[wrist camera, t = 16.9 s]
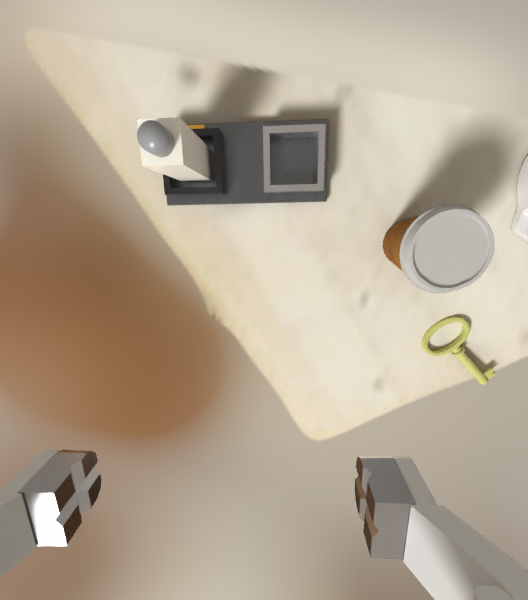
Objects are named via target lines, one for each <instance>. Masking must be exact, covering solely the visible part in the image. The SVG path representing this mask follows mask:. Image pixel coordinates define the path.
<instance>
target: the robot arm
mask: <svg viewBox="0 0 528 600" xmlns="http://www.w3.org/2000/svg"><path fill="white" fill-rule="evenodd" d="M517 198H518V207H517V211H516V214H515V217H514V220H513V224H512V230H513V232H514V233H515V234H516V235H518V236H519V237H521V238H522V239H524V240H526V241H527V242H528V155H527V157H526V158H525V160H524V162H523V165H522V167H521V170H520V173H519V177H518V183H517ZM97 462H98V460H97V455H96V453H95V452H93V451H84V450H56V449H55V450H54V449H46V450H44V451H42V452H40V453H39V454H38V455H37V456H36V457H35V458H34V459H33V460H32V461H31V462H30V463H29V464H28V465H27V466H26V467H25V468H24V469H23V470H22V471H21V472H20V473H18V474H17V475H16V476H15V477H14V478H13V479H12V480H11V481H10V482H9V483H8V484H7V485H6V486H5V487H4V488H3V489H2V490H1V491H0V577H1V576H3V575H4V574H5V573H6V572H8V571H9V570H10V569H11V568H12V567H14V566H15V565H16V564H17V563H19V562H20V561H21V560H22V559H23V558H25V557H26V556H27V555H28V554H29V553H31V552H32V551H33V550H34V549H35V548H36V547H37V546H67V545H68V543H69V541H70V540H71V538H72V537H73V535H74V534H75V532H76V531H77V529H78V528H79V526H80V525H81V523H82V514H84V513H85V512H87V511H88V510H89V509H91V508H92V506H93V505H94V503H95V501H96V500H97V498H98V495H99V492H100V489H101V475H100V472H99V471H98V470H97V469H96V468H95V465H96V464H97ZM356 469H357V472H358V477H357V478H356V479H355V500H356V505H357V509H358V514H359V517H360V518H361V519H362V520H363V521H364V531H363V532H364V536H365V539H366V543H367V547H368V551H369V554H370V557H371V558H385V559H401V560H404V563H405V564H406V565H407V567H408V568H409V569H410V570H411V572H412V573H413V574H414V575H415V576H416V577H417V578H418V580H419V581H420V582H421V584H422V585H423V586H424V587H425V588H426V590H427V591H428V592H429V593H430V594H431V596H432V597H433V598H434V599H435V600H528V570H527V569H526V568H524V567H523V566H522V565H520V564H519V563H518V562H517V561H515V560H514V559H513V558H511V557H510V556H509V555H507V554H506V553H505V552H503V551H502V550H501V549H499V548H498V547H497V546H496V545H494V544H493V543H492V542H490V541H489V540H488V539H486V538H485V537H484V536H483V535H481V534H480V533H479V532H477V531H476V530H474V529H473V528H472V527H471V526H469V525H468V524H467V523H465V522H464V521H463V520H462V519H460V518H459V517H458V516H456V515H455V514H454V513H452V512H451V511H450V510H448V509H447V508H446V507H445V506H438V505H437V503H436V501H435V499H434V498H433V496H432V494H431V492H430V490H429V489H428V487H427V485H426V483H425V481H424V480H423V478H422V476H421V474H420V473H419V471H418V469H417V467H416V465H415V464H414V462H413V460H412V459H411V458H410V457H362V456H361V457H360V456H358V457H357V461H356Z"/></svg>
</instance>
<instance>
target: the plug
mask: <svg viewBox="0 0 528 600" xmlns="http://www.w3.org/2000/svg"><path fill="white" fill-rule="evenodd" d="M137 123H138V132H137V138H138V142H139V144H140V150H141V159H142V166H144V167H146V168H149V169H151V170H154V171H157V172H159V173H162V174H164V175H167V176H169V177H172V178H175V179H177V180H180V181H182V182H204V181H213V180H212V163H211V149H210V148H209V147H208V146H207V145H206V144H205V143H204V142H203V141H202V140H201V139H200V138H199V137H198V136H197V135H196V134H195V133H194V132H193V131H192V130H191V129H190V128H189V127H188V126H187V125H186V124H185V123H184V122H183V121H182V119H181V118H156V119H137Z"/></svg>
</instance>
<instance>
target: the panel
mask: <svg viewBox="0 0 528 600" xmlns="http://www.w3.org/2000/svg"><path fill="white" fill-rule="evenodd" d="M328 122H329V119H318V120H292V121H266V122H240V123H213V124H187V126H188V127H189V128H190V129H191V130H192V131H193V132H194V133H195V134H196V135H197V136H198V137H199V138H200V139H201V140H202V141H203V142H204V143H205V144H206V145H207V146H208V147H209V148H210V149H211V163H212V180H213V181H204V182H182V181H180V180H177V179H175V178H172V177H169V176H167V175H164V174H163V180H164V190H165V195H167V205H208V204H249V203H291V202H325V201H326V187H327V154H328Z"/></svg>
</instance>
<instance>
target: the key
mask: <svg viewBox="0 0 528 600" xmlns="http://www.w3.org/2000/svg"><path fill="white" fill-rule="evenodd" d="M453 322H460V323H461V324H462V326H463V330H462V332H461V334H460V335H459V336H458V338H457V339H455V340H454V341H453V342H452V343H451V344H449V345H448V346H446V347H444V348H442V349H439V350H430V349H429V348H428V342H429V340H430V338H431V336H432V335H433V334H434V333H435V331H437V330H438V329H439V328H441V327H442V326H444V325H446V324H449V323H453ZM469 332H470V327H469V324H468V323H467V322H466V321H465V320H464V319H463V318H461V317H458V316H452V317H447V318H444V319H442V320H440V321H438V322H437V323H435V324H434V325H433V326H431V327H430V328H429V329H428V330H427V331H426V333H425V334H424V336H423V339H422V348H423V349H424V351H425V352H426V353H428V354H430V355H433V356H441V355H445V354H447V353H449V352H451V351H452V355H453V356H455V357H458V358H459V359H460V360H461V362H462V363H463V364H464V365H465V366H466V367H467V368H468V370H469V371H470V372H471V373H472V374H473V375H474V376H475V378H476V379H477V380H478V381H479V382H480V383H481V384H486V383H488V379H490V378H491V377H493V376H494V375H496V373H495V372H493V371H494V370H493V369H492V368H489V369H487V370H486V371H484V372H483V373H482V372H481V371H480V370H479V369H478V367H477V366H476V365H475V364H474V363H473V362H472V360H471V359H470V358H469V357H468V356H467V355H466V354H465V348H464V347H459V346H460V345H461V344H462V343H463V342H464V341H465V340H466V339H467V337H468V335H469Z"/></svg>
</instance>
